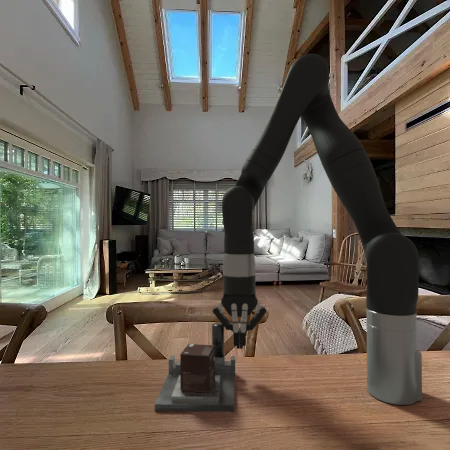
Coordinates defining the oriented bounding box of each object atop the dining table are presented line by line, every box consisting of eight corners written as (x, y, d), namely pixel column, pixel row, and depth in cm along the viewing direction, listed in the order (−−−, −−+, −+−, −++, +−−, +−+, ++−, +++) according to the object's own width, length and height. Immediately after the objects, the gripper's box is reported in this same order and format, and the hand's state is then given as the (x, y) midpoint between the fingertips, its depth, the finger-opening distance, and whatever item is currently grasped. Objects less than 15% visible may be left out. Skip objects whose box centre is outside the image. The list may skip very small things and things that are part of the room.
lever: (224, 359, 77) (224, 322, 77) (224, 364, 73) (224, 326, 74) (212, 358, 77) (212, 322, 77) (211, 364, 74) (211, 326, 74)
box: (209, 393, 63) (209, 355, 63) (179, 391, 64) (179, 354, 64) (215, 379, 69) (215, 344, 69) (188, 377, 70) (188, 343, 70)
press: (235, 373, 76) (235, 355, 76) (235, 411, 60) (235, 389, 60) (170, 372, 77) (170, 355, 77) (154, 410, 61) (154, 388, 61)
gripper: (266, 270, 79) (266, 342, 79) (212, 270, 79) (212, 341, 79) (269, 275, 71) (269, 354, 71) (209, 275, 72) (210, 353, 71)
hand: (239, 347), depth 75 cm, fingers closed
